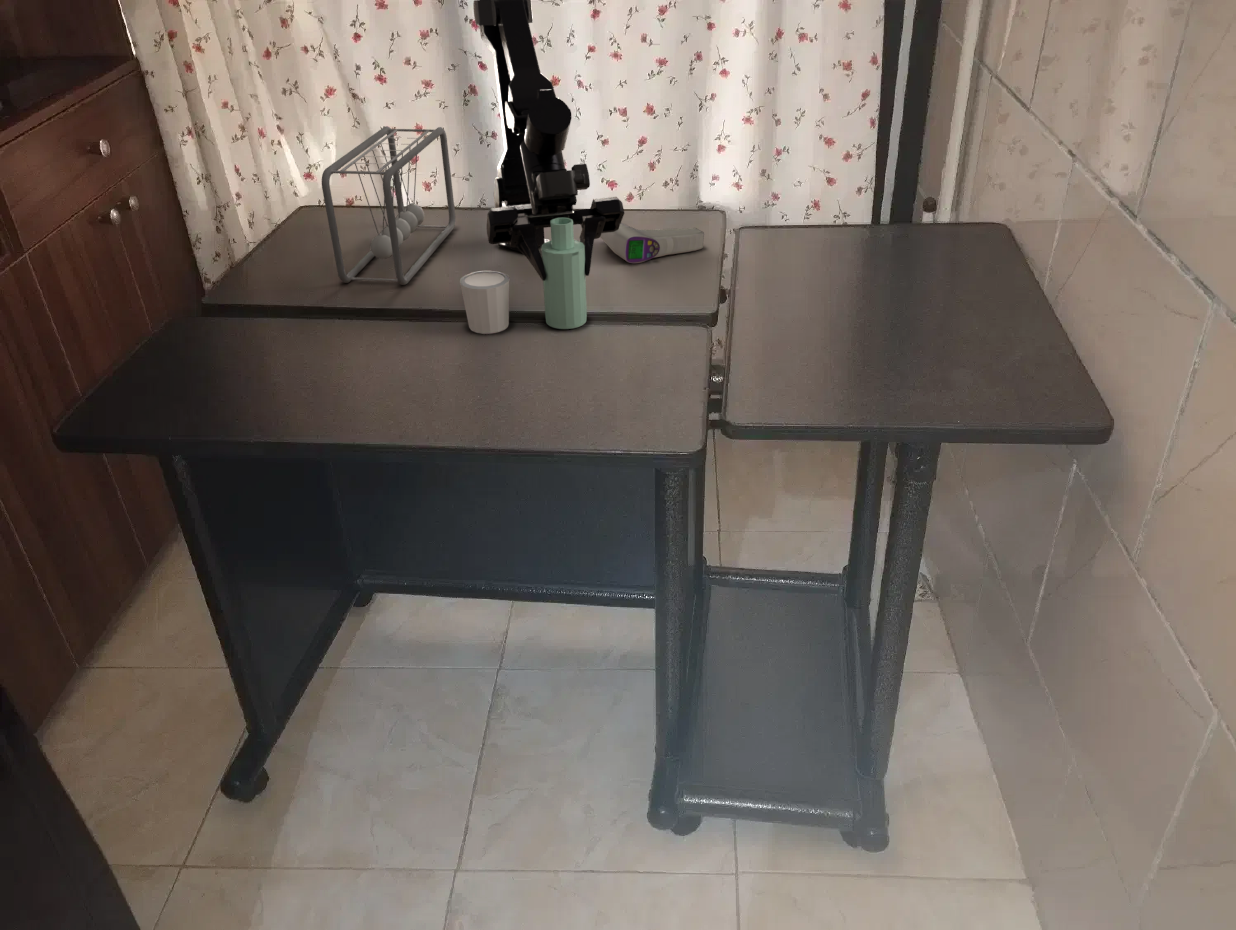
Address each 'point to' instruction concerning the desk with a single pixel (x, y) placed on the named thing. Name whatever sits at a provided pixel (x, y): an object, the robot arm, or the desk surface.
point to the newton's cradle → (390, 203)
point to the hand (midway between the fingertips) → (565, 277)
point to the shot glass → (486, 301)
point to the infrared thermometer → (652, 242)
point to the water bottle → (564, 277)
